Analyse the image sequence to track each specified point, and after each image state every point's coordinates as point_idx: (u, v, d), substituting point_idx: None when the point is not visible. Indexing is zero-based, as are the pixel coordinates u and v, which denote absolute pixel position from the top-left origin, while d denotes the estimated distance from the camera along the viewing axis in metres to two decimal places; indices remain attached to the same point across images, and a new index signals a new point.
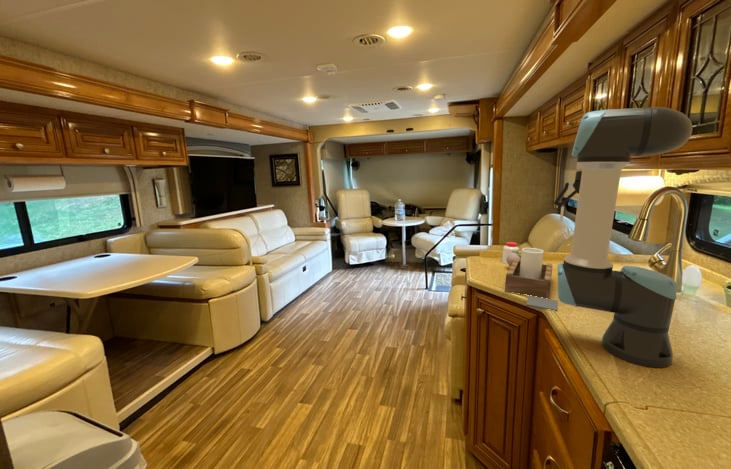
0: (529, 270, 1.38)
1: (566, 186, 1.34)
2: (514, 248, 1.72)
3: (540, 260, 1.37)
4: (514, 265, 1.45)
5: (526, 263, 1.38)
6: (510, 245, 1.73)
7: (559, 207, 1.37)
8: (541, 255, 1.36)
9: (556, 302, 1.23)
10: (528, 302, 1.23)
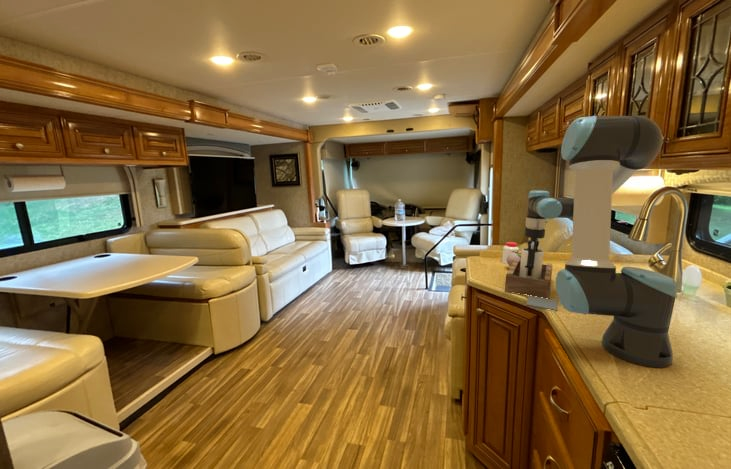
0: None
1: None
2: (514, 248, 1.72)
3: (540, 260, 1.37)
4: (514, 265, 1.45)
5: (526, 263, 1.38)
6: (510, 245, 1.73)
7: None
8: (541, 255, 1.36)
9: (556, 302, 1.23)
10: (528, 302, 1.23)
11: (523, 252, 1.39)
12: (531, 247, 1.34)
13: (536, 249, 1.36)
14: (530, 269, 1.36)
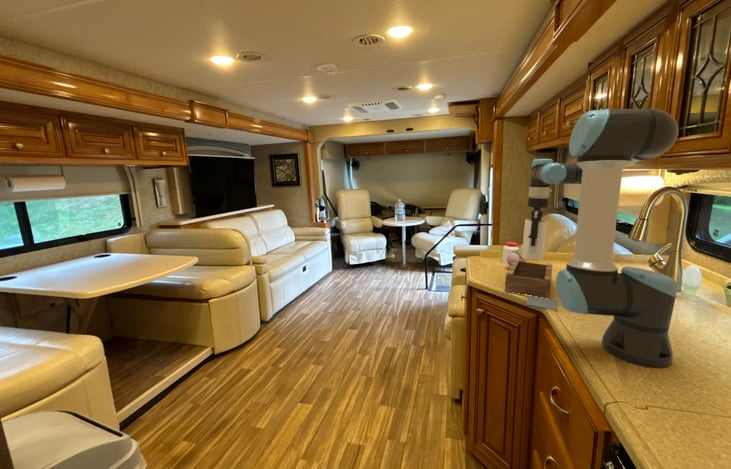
0: None
1: None
2: (514, 248, 1.72)
3: (544, 230, 1.34)
4: (514, 265, 1.45)
5: (529, 233, 1.36)
6: (510, 245, 1.73)
7: None
8: (545, 225, 1.34)
9: (556, 302, 1.23)
10: (528, 302, 1.23)
11: (526, 223, 1.37)
12: (535, 216, 1.31)
13: (540, 219, 1.34)
14: (534, 239, 1.33)
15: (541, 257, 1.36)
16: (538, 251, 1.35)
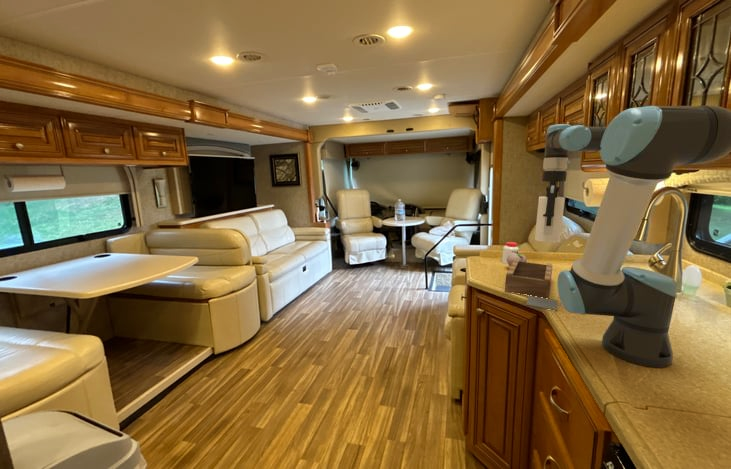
0: None
1: None
2: (514, 248, 1.72)
3: (561, 208, 1.16)
4: (514, 265, 1.45)
5: (544, 212, 1.18)
6: (510, 245, 1.73)
7: None
8: (562, 201, 1.16)
9: (556, 302, 1.23)
10: (528, 302, 1.23)
11: (540, 199, 1.19)
12: (551, 191, 1.13)
13: (556, 194, 1.16)
14: (550, 218, 1.15)
15: (558, 239, 1.18)
16: (554, 232, 1.17)
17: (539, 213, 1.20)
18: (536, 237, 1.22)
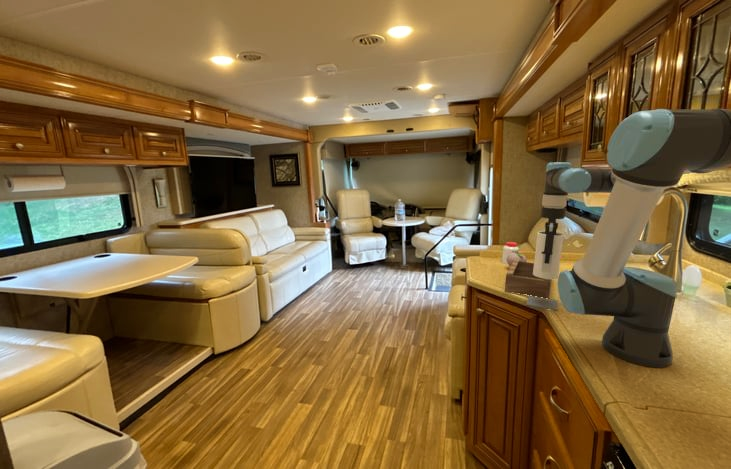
0: None
1: None
2: (514, 248, 1.72)
3: (560, 245, 1.16)
4: (514, 265, 1.45)
5: (543, 248, 1.17)
6: (510, 245, 1.73)
7: None
8: (561, 239, 1.15)
9: (556, 302, 1.23)
10: (528, 302, 1.23)
11: (539, 236, 1.18)
12: (549, 229, 1.12)
13: (555, 232, 1.15)
14: (548, 255, 1.15)
15: (556, 275, 1.18)
16: (553, 269, 1.17)
17: (537, 249, 1.19)
18: (534, 272, 1.21)
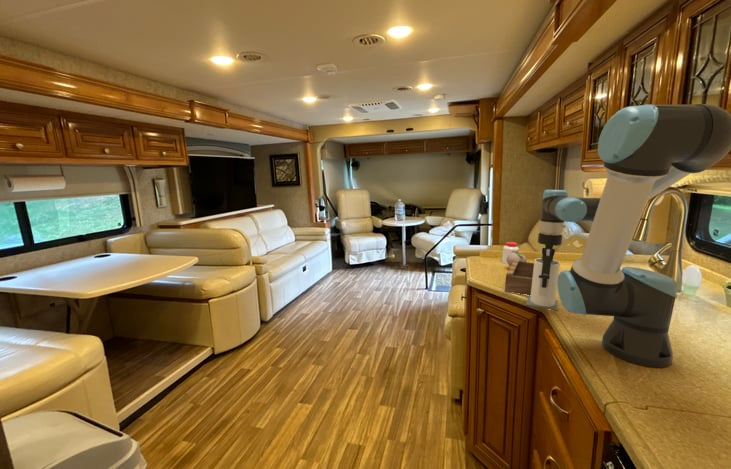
0: None
1: None
2: (514, 248, 1.72)
3: (556, 273, 1.18)
4: (514, 265, 1.45)
5: None
6: (510, 245, 1.73)
7: None
8: (557, 267, 1.17)
9: (556, 302, 1.23)
10: (528, 302, 1.23)
11: (536, 264, 1.20)
12: (547, 253, 1.13)
13: (552, 257, 1.16)
14: (545, 280, 1.14)
15: (553, 303, 1.20)
16: (549, 297, 1.19)
17: (534, 277, 1.21)
18: (531, 299, 1.23)
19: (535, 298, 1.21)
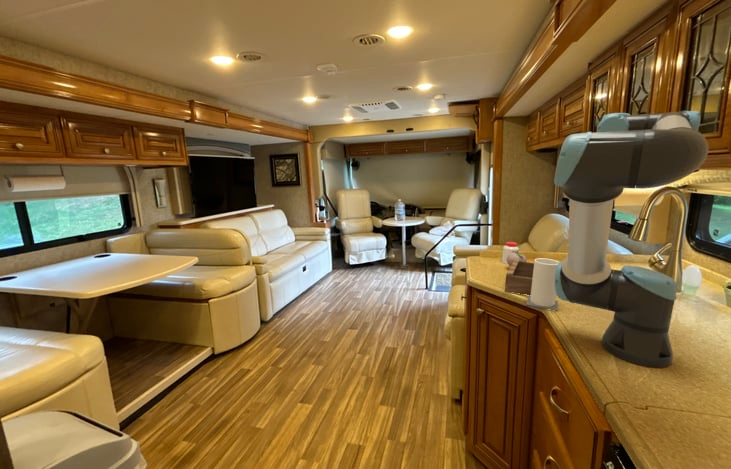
0: (543, 285, 1.19)
1: None
2: (514, 248, 1.72)
3: None
4: (514, 265, 1.45)
5: (540, 277, 1.19)
6: (510, 245, 1.73)
7: None
8: None
9: (556, 302, 1.23)
10: (528, 302, 1.23)
11: (536, 264, 1.20)
12: None
13: None
14: None
15: (553, 303, 1.20)
16: (549, 297, 1.19)
17: (534, 277, 1.21)
18: (531, 299, 1.23)
19: (535, 298, 1.21)
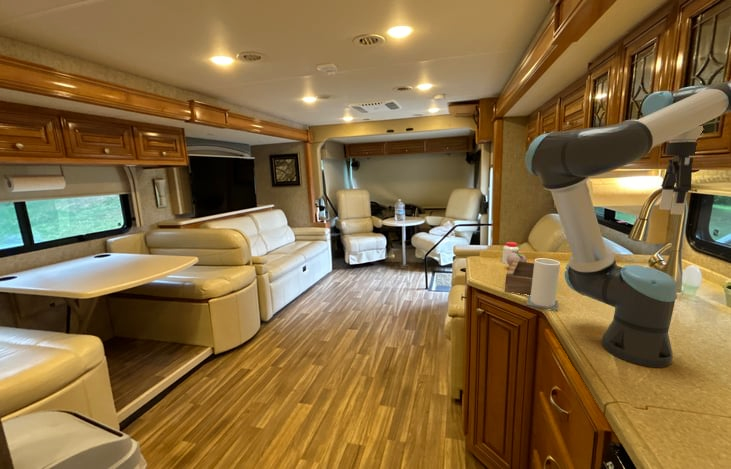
0: (543, 285, 1.19)
1: (668, 163, 1.07)
2: (514, 248, 1.72)
3: (556, 273, 1.18)
4: (514, 265, 1.45)
5: (540, 277, 1.19)
6: (510, 245, 1.73)
7: None
8: (557, 267, 1.17)
9: (556, 302, 1.23)
10: (528, 302, 1.23)
11: (536, 264, 1.20)
12: (685, 162, 0.95)
13: None
14: (683, 193, 0.96)
15: (553, 303, 1.20)
16: (549, 297, 1.19)
17: (534, 277, 1.21)
18: (531, 299, 1.23)
19: (535, 298, 1.21)
